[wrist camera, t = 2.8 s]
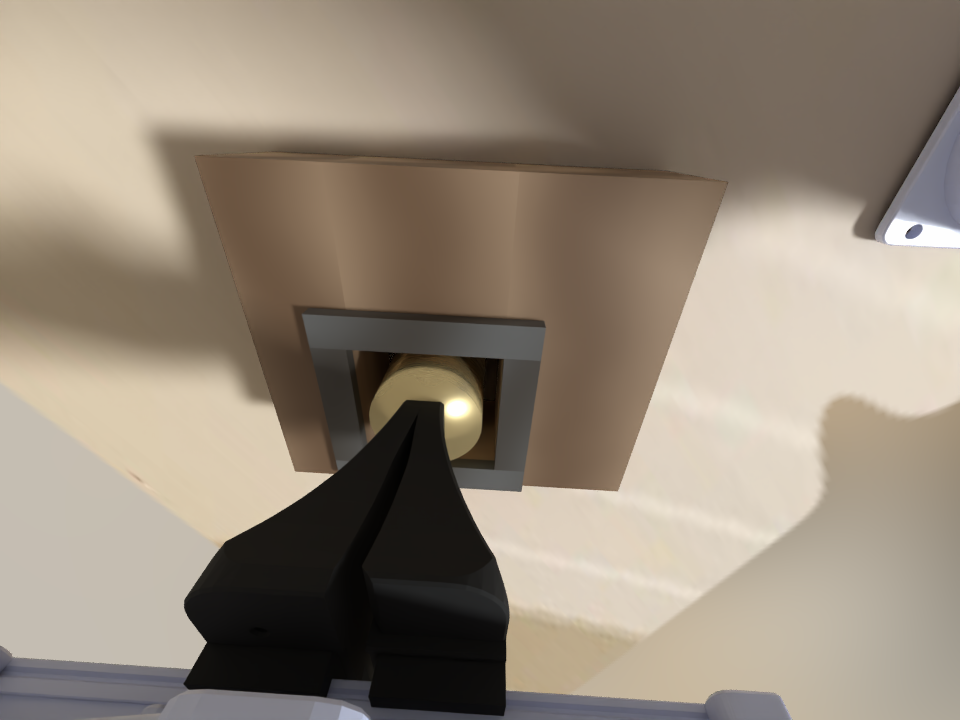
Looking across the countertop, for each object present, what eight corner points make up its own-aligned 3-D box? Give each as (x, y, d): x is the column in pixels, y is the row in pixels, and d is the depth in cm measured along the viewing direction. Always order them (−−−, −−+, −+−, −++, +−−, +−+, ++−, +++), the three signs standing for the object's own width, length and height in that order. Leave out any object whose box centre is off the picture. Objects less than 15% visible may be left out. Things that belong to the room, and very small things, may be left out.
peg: (487, 324, 15) (484, 379, 12) (483, 399, 17) (479, 466, 14) (393, 318, 15) (362, 372, 12) (400, 394, 18) (375, 459, 14)
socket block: (666, 171, 13) (739, 183, 9) (596, 428, 19) (621, 501, 15) (274, 151, 13) (179, 156, 9) (331, 412, 19) (289, 480, 15)
